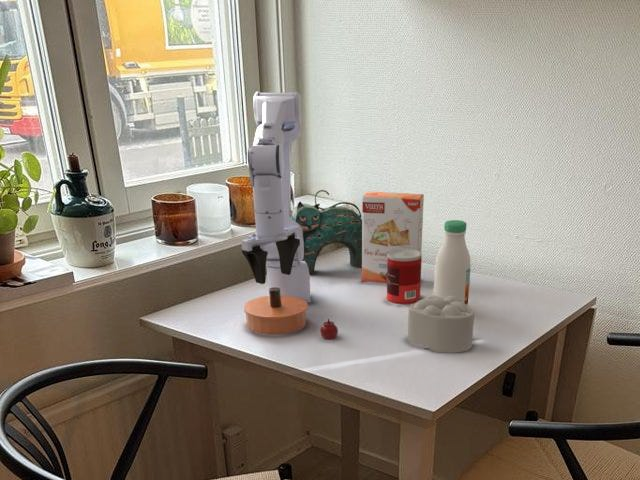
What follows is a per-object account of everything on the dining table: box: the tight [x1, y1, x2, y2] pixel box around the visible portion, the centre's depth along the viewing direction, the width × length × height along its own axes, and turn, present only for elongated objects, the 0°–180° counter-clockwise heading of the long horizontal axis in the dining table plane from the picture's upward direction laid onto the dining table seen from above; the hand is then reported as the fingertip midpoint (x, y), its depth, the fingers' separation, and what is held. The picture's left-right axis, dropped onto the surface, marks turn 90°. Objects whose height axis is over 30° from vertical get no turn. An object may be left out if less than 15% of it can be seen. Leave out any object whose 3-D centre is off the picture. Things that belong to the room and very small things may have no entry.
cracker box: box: [361, 190, 425, 284], centre depth 178 cm, size 14×6×21 cm, turn 77°
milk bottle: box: [433, 219, 472, 306], centre depth 158 cm, size 8×8×20 cm
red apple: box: [320, 318, 339, 340], centre depth 150 cm, size 4×4×4 cm
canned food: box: [386, 249, 423, 305], centre depth 168 cm, size 8×8×11 cm
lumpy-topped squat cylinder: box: [407, 294, 475, 354], centre depth 148 cm, size 10×13×9 cm
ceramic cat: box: [291, 189, 362, 275], centre depth 187 cm, size 20×6×20 cm, turn 115°
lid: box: [243, 287, 309, 319], centre depth 155 cm, size 14×14×5 cm
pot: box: [245, 311, 307, 335], centre depth 157 cm, size 13×13×4 cm
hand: (273, 278), depth 153 cm, fingers open, 7 cm apart
